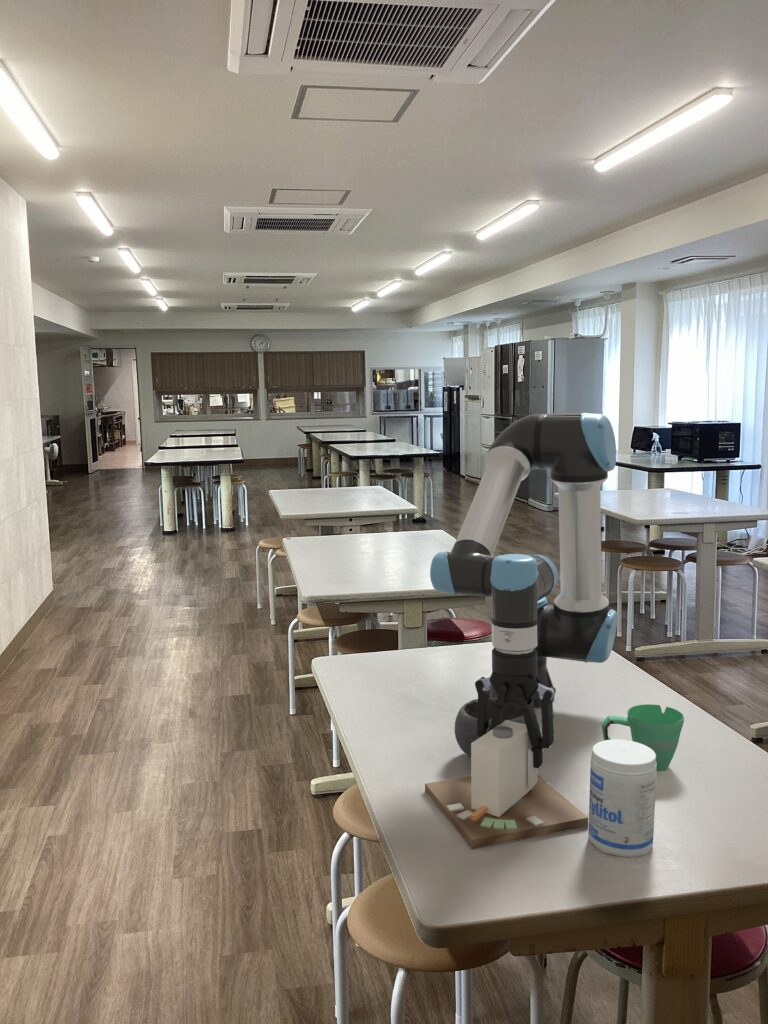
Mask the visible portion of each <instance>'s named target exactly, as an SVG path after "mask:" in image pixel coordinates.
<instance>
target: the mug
mask: <svg viewBox="0 0 768 1024" xmlns="http://www.w3.org/2000/svg"><path fill="white" fill-rule="evenodd" d="M626 715H627V717H625V716H620V715H607V716H606V717H605V718H604V719H603V721H602V722H601V732H602V736H603V737H602V738H603V741H605V740H612V739H611V738H610V737H609V727H610V726H611V725H616V724H617V725H622V726H626V727H629V728H630V735H631V741H633V742H637V743H640V744H643V745H645V746H647V747H649V748H651V749H652V750H653V751H654V752H655V754H656V763H657V766H656V773H657V772H658V773H659V772H665V771H667V770H668V769H669V767H670V764H671V762H672V760H673V758H674V756H675V753H676V750H677V748H678V745H679V742H680V736H681V733H682V730H683V726H684V722H685V717H684V713H682V712H681V711H679V710H678V709H676V708H674V707H670V706H669V707H668V706H666V707H665V709H664V712H662V707H661V705H659V704H652V703H651V704H650V703H647V704H638V705H634V706H631V707H629V708H628V710H627V714H626Z"/></svg>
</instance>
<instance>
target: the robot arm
mask: <svg viewBox="0 0 768 1024" xmlns="http://www.w3.org/2000/svg"><path fill="white" fill-rule="evenodd" d="M616 464H617V444H616V436H615V431H614V429H613V425H612V423H611V421H610V420H609V418H608V417H607V416H606V415H604V414H602V413H590V412H589V413H588V412H570V413H567V412H566V413H533V414H529V415H526V416H523V417H521V418H519V419H517V420H516V421H514V422H512V423H511V424H510V425H509V426H507V427H506V428H505V429H503V431H501V432H500V433H499V435H498V436H497V437H495V439H494V440H493V442H492V443H491V445H490V447H489V448H488V450H487V452H486V456H485V458H484V465H485V470H484V472H483V475H482V477H481V480H480V482H479V484H478V486H477V490H476V492H475V494H474V497H473V500H472V502H471V504H470V505H469V506H470V507H469V509H468V511H467V514H466V516H465V518H464V521H463V523H462V526H461V528H460V530H459V533H458V536H457V538H456V539H455V542H454V544H453V546H452V548H451V551H440V552H438V553H436V554H434V556H433V558H432V560H431V563H430V570H429V578H430V582H431V585H432V587H433V589H434V590H435V591H437V592H440V593H445V594H449V595H455V596H457V595H460V596H461V595H462V596H476V597H486V598H491V645H492V647H493V648H492V650H491V668H492V669H491V675H490V676H489V677H484V676H482V677H480V678H479V679H477V680H476V681H475V682H474V686H475V690H476V693H477V699H478V713H477V735H478V736H479V737H482V736H483V735H485V734H486V733H488V732H489V731H491V730H492V729H493V728H495V727H497V726H498V725H500V724H501V723H502V721H503V718H504V714H505V711H506V707H507V704H508V703H515V704H518V705H519V706H520V709H521V711H522V712H523V716H524V720H525V723H526V727H527V731H528V734H529V738H530V742H531V745H532V746H531V747H530V748H529V749H528V788H533V787H534V785H535V784H536V783H537V774H538V769H540V768H541V767H542V765H543V761H544V760H543V758H544V755H543V754H544V753H543V752H544V750H543V749H546V750H547V749H549V748H550V747H551V746H552V745H553V744H554V743H555V742H554V741H555V730H554V729H555V728H554V726H555V725H554V707H553V706H554V703H553V702H554V701H555V695H556V693H557V692H556V689H557V688H555V687H554V684H553V681H552V679H551V675H550V672H549V669H548V667H547V666H548V665H547V661H548V660H547V658H552V659H559V660H567V661H574V662H575V661H576V662H584V663H585V664H587V663H595V664H596V663H597V664H598V663H599V664H601V663H604V662H606V661H607V660H608V659H609V658H610V655H611V653H612V649H613V647H614V642H615V638H616V633H617V626H618V612H617V610H614V609H612V608H611V609H610V601H609V599H608V597H606V596H605V595H604V594H603V592H602V534H601V533H602V532H601V531H602V530H601V529H602V526H601V525H602V524H601V523H602V520H601V519H602V517H601V513H602V512H601V509H602V508H601V486H602V484H603V483H604V482H606V481H607V479H608V477H609V476H608V475H609V473H608V472H610V471H613V470H615V467H616ZM533 470H548V471H549V472H550V481H551V482H553V484H555V485H556V486H557V489H558V492H557V493H558V497H557V498H558V529H559V530H558V533H559V534H558V535H559V536H558V537H559V565H560V566H559V570H560V571H559V573H560V575H559V574H558V570H557V566H556V565H555V563H554V562H553V561H552V559H550V558H549V557H547V556H545V555H542V554H530V555H529V554H524V553H523V554H522V553H507V554H506V553H505V554H500V555H494V553H495V550H496V547H497V545H498V542H499V540H500V537H501V534H502V531H503V528H504V526H505V524H506V521H507V519H508V516H509V514H510V511H511V508H512V506H513V503H514V501H515V497H516V495H517V493H518V489H519V488H520V485H521V482H522V481H524V480H525V479H526V478H527V477H528V476H529V475H530V472H531V471H533ZM559 576H560V593H559V594H558V595H557V596H556V597H555V598H554V600H553V604H549V601H548V599H547V597H548V596H549V595H550V593H551V592H552V591H553V589H554V588H555V587H556V586H557V583H558V579H559ZM490 698H497V701H496V707H495V711H494V714H493V718H492V721H491V725H490V729H489V702H490ZM539 708H540V710H541V711H540V712H541V713H540V714H541V717H540V718H541V728H540V724H539V720H538V717H537V713H536V710H535V709H539Z"/></svg>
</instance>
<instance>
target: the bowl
mask: <svg viewBox="0 0 768 1024" xmlns="http://www.w3.org/2000/svg"><path fill="white" fill-rule="evenodd" d="M496 701H497V698H490V702H489V729H490V725H491V721H492V718H493V714H494V711H495V707H496ZM477 713H478V698H476V699H471V700H470V701H468V702H466V703H464V704H463V705H462V706H461V707H460V709H459V711H458V712H457V715H456V717H455V722H454V736H455V740H456V743H457V744H458V746H459V748H460V750H461V751H463V753H464V754H465V755H467V756H468V757H469V758H471V743H473V742H474V741H476V740H477V739H479V738H480V737H479V736H478V735H477ZM506 720H509V721H513V722H518V723H522V724H526V723H525V720H524V716H523V712H522V711H521V709H520V706H519V705H518V704H515V703H508V704H507V707H506V711H505V714H504V718H503V721H502V723H503V722H504V721H506Z"/></svg>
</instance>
